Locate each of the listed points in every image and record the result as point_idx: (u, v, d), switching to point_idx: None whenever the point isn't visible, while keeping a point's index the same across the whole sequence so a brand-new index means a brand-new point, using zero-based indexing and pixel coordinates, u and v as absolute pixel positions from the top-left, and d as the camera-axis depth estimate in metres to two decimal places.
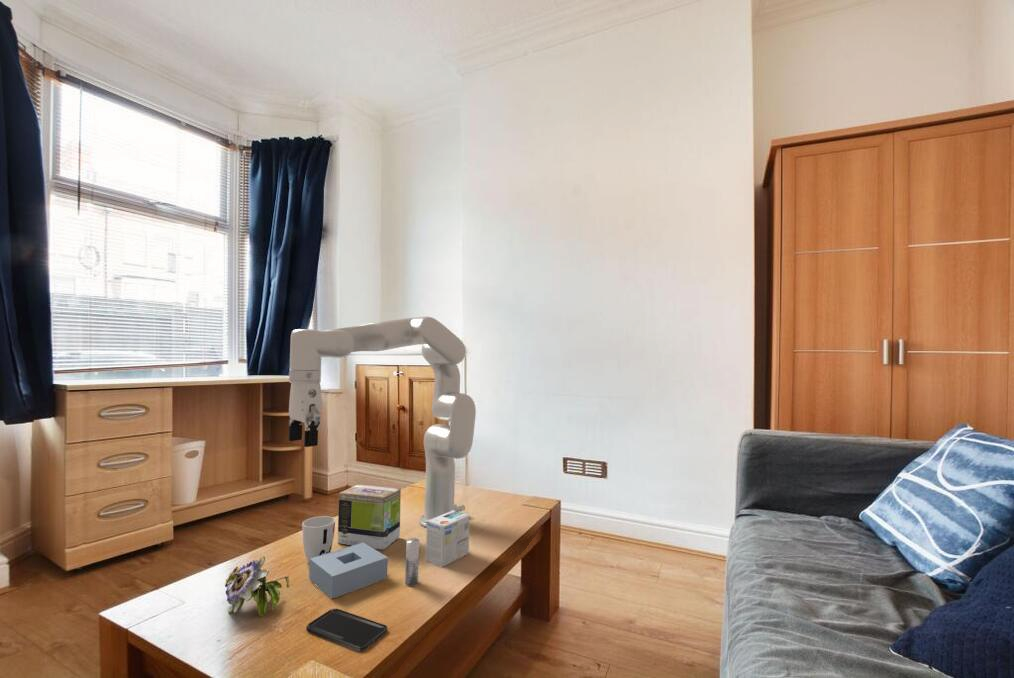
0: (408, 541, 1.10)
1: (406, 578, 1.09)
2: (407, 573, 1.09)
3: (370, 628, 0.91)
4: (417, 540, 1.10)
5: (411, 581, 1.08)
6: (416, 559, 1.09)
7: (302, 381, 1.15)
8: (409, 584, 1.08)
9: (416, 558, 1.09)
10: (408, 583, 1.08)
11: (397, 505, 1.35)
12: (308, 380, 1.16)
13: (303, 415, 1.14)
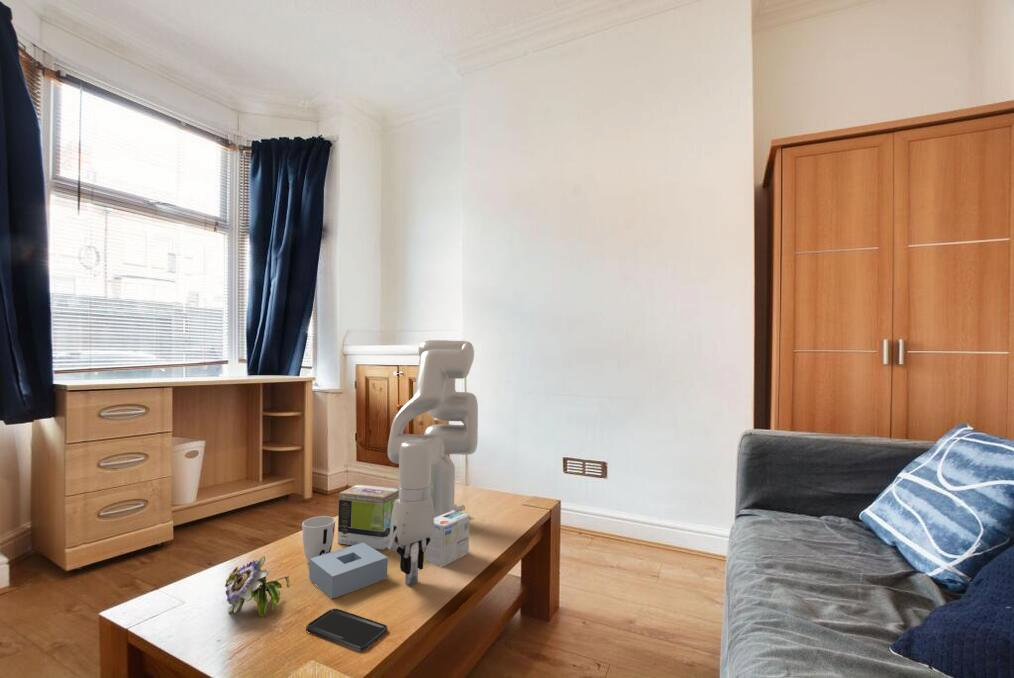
0: None
1: (406, 578, 1.09)
2: None
3: (370, 628, 0.91)
4: None
5: (411, 581, 1.08)
6: (416, 559, 1.09)
7: None
8: (409, 584, 1.08)
9: (416, 558, 1.09)
10: (408, 583, 1.08)
11: None
12: None
13: (433, 529, 1.12)
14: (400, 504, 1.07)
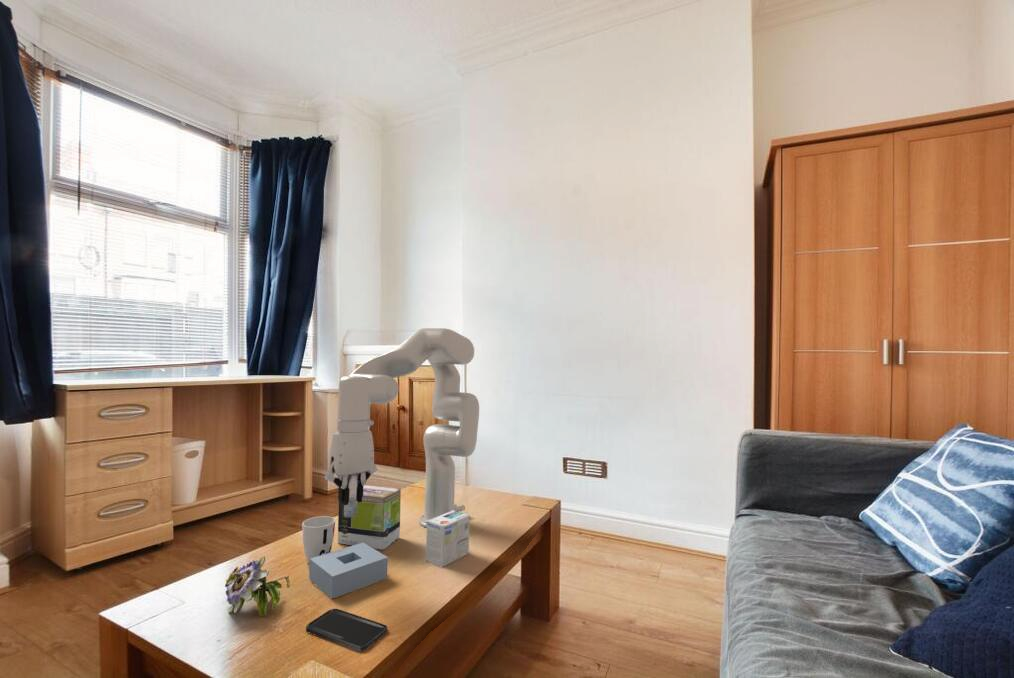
0: None
1: (344, 510, 1.10)
2: (345, 505, 1.10)
3: (370, 628, 0.91)
4: None
5: (349, 512, 1.10)
6: (354, 491, 1.11)
7: None
8: (347, 516, 1.10)
9: (354, 490, 1.11)
10: (346, 515, 1.10)
11: (397, 505, 1.35)
12: None
13: (373, 463, 1.14)
14: (338, 435, 1.08)
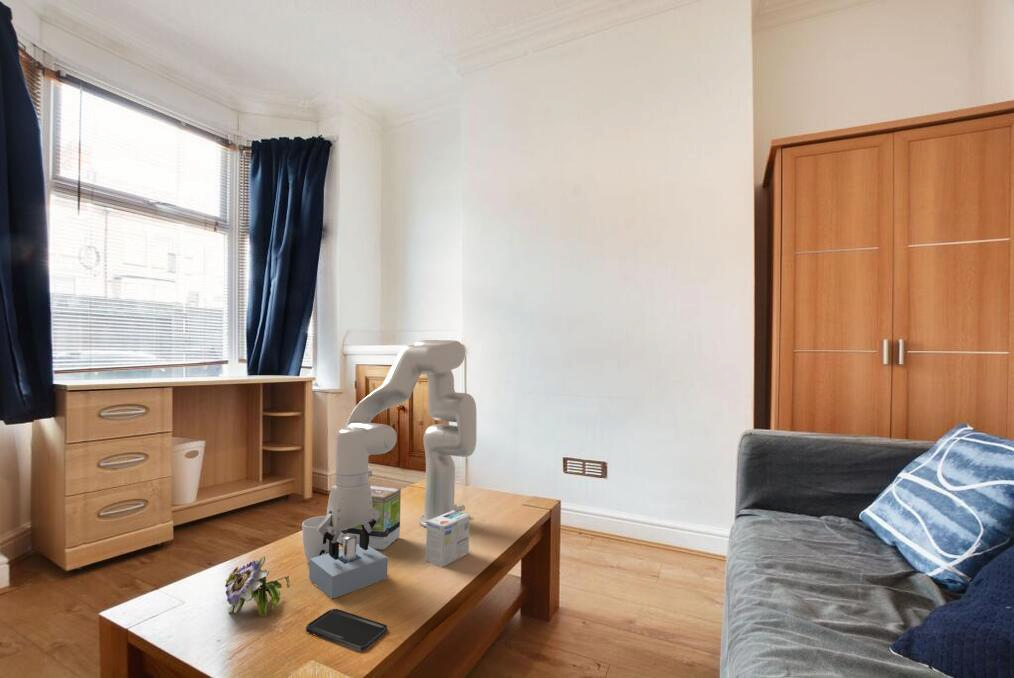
0: (345, 538, 1.11)
1: None
2: None
3: (370, 628, 0.91)
4: (354, 537, 1.12)
5: None
6: (353, 555, 1.10)
7: (367, 482, 1.13)
8: None
9: (353, 554, 1.10)
10: None
11: (397, 505, 1.35)
12: None
13: (371, 515, 1.13)
14: (336, 490, 1.08)
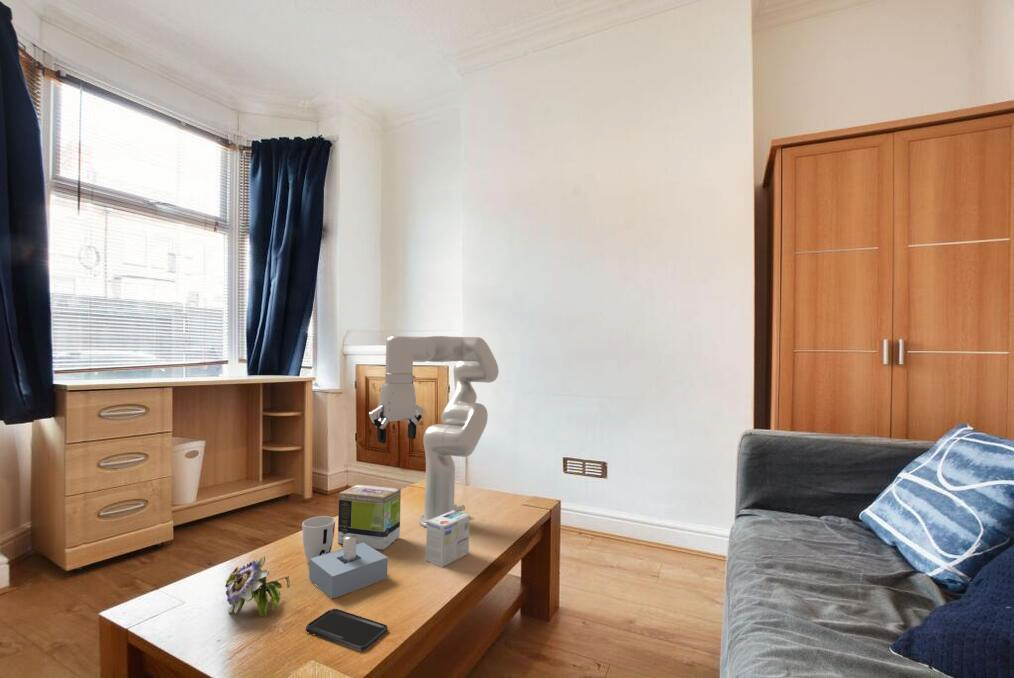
0: (345, 538, 1.11)
1: None
2: None
3: (370, 628, 0.91)
4: (354, 537, 1.12)
5: None
6: (353, 555, 1.10)
7: None
8: None
9: (353, 554, 1.10)
10: None
11: (397, 505, 1.35)
12: None
13: (415, 412, 1.31)
14: (386, 386, 1.26)
